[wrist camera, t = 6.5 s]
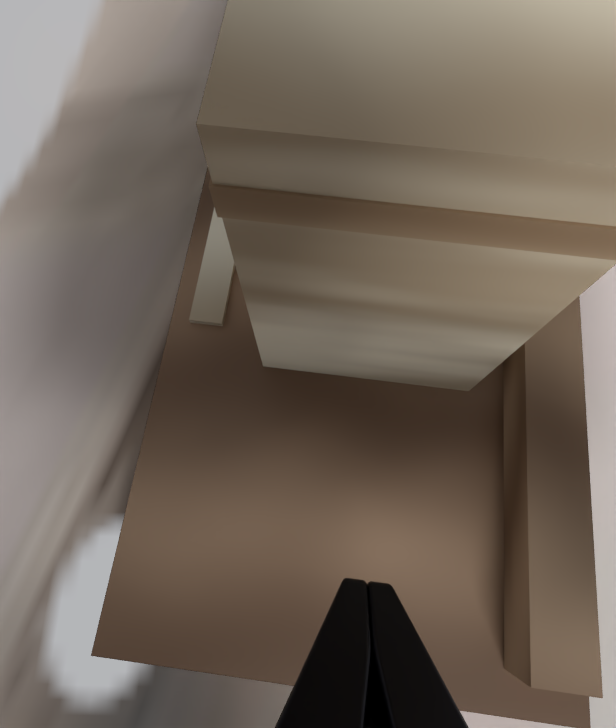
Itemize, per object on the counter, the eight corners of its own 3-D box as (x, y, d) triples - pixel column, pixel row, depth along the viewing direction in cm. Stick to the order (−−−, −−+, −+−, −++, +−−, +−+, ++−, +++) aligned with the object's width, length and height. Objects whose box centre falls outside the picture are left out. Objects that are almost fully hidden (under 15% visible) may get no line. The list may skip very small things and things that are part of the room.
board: (550, 701, 13) (692, 802, 8) (121, 638, 14) (16, 698, 9) (530, 21, 22) (596, -129, 17) (264, -3, 22) (251, -155, 17)
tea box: (470, 393, 14) (722, 180, 5) (261, 367, 14) (190, 126, 6) (477, 58, 18) (625, -357, 10) (315, 43, 18) (321, -376, 10)
